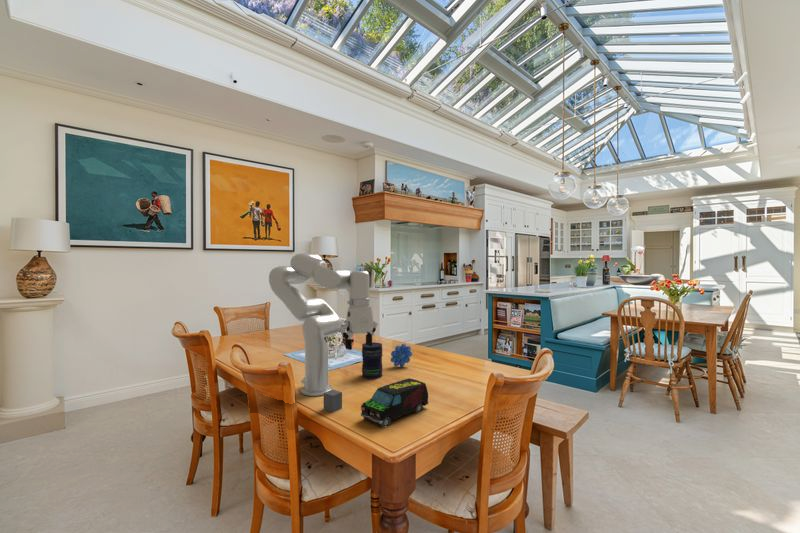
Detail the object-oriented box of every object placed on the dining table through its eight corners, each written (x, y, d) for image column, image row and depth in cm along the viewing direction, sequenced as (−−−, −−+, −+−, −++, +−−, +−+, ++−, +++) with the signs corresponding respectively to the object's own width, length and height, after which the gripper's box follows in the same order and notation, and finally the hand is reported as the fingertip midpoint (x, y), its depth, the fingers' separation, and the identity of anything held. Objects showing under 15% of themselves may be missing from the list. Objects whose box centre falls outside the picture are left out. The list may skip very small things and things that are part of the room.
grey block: (323, 409, 131) (323, 392, 131) (332, 405, 135) (332, 389, 135) (333, 412, 128) (333, 395, 128) (342, 408, 132) (342, 392, 132)
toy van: (359, 420, 122) (359, 391, 122) (409, 400, 139) (409, 375, 139) (379, 430, 114) (379, 399, 114) (430, 408, 131) (430, 381, 131)
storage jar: (380, 379, 164) (380, 347, 164) (359, 378, 166) (359, 346, 166) (384, 373, 174) (384, 342, 174) (364, 372, 175) (364, 342, 175)
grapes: (410, 363, 190) (410, 341, 190) (413, 367, 183) (413, 344, 183) (389, 365, 188) (389, 342, 188) (391, 368, 181) (391, 345, 181)
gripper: (346, 305, 128) (345, 352, 128) (382, 302, 140) (382, 345, 140) (334, 303, 134) (334, 349, 134) (370, 300, 145) (370, 342, 146)
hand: (359, 347), depth 137 cm, fingers open, 9 cm apart
